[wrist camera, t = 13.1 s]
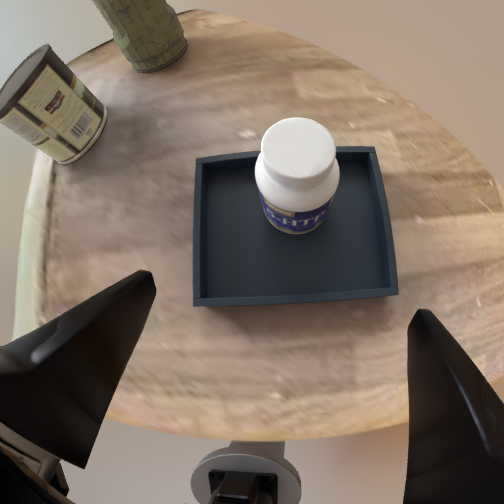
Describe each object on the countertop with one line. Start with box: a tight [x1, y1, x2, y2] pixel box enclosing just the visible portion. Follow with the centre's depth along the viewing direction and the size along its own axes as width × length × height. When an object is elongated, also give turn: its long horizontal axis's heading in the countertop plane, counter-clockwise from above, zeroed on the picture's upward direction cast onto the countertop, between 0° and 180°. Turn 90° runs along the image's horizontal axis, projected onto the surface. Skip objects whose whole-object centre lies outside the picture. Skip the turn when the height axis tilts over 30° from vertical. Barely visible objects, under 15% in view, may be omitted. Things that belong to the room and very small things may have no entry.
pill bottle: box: [255, 118, 340, 234], centre depth 18 cm, size 5×5×9 cm
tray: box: [193, 146, 398, 306], centre depth 21 cm, size 12×15×3 cm
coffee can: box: [0, 44, 107, 164], centre depth 22 cm, size 10×10×14 cm
